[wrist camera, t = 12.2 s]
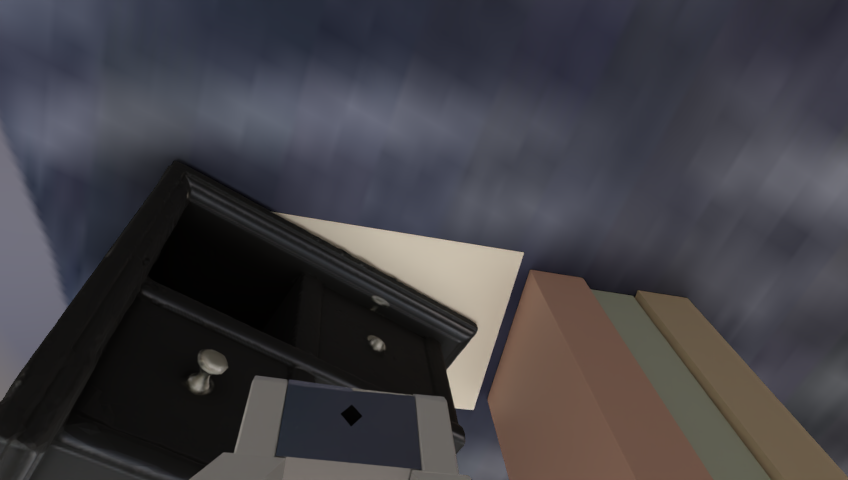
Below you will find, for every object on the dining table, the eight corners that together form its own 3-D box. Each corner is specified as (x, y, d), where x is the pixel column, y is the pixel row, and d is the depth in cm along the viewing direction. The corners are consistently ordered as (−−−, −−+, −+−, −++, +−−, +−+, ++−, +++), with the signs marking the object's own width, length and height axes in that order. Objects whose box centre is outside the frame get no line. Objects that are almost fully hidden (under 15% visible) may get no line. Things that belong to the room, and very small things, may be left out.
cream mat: (522, 249, 44) (524, 252, 44) (472, 405, 50) (473, 410, 50) (162, 190, 40) (160, 194, 40) (153, 369, 46) (151, 373, 45)
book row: (688, 294, 47) (950, 582, 26) (633, 416, 51) (817, 741, 31) (529, 269, 44) (678, 562, 24) (487, 399, 49) (579, 736, 29)
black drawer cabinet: (480, 321, 46) (582, 651, 25) (397, 422, 49) (426, 787, 28) (176, 153, 39) (-42, 421, 18) (103, 284, 42) (-154, 642, 21)
